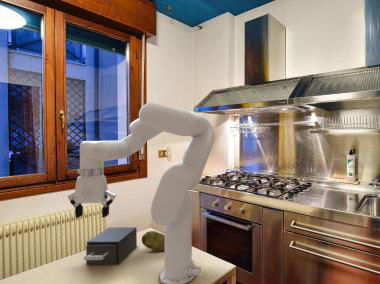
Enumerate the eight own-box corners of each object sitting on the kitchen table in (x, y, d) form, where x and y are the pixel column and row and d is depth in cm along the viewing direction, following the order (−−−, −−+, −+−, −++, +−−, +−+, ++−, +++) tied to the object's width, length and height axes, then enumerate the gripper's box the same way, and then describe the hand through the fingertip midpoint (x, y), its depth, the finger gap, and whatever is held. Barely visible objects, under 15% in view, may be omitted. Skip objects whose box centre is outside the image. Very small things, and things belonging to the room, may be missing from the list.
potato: (165, 255, 97) (165, 236, 97) (138, 252, 99) (138, 234, 99) (175, 246, 106) (175, 229, 105) (149, 244, 108) (149, 227, 107)
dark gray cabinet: (118, 264, 90) (118, 241, 90) (87, 264, 90) (86, 241, 90) (136, 246, 105) (136, 227, 105) (109, 246, 105) (109, 227, 104)
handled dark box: (108, 270, 84) (108, 251, 84) (77, 271, 84) (77, 251, 84) (132, 247, 102) (132, 231, 102) (107, 247, 102) (107, 231, 102)
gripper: (61, 174, 83) (61, 220, 84) (110, 174, 85) (110, 219, 85) (75, 171, 91) (75, 213, 91) (120, 171, 92) (120, 213, 93)
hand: (92, 216), depth 88 cm, fingers open, 9 cm apart
